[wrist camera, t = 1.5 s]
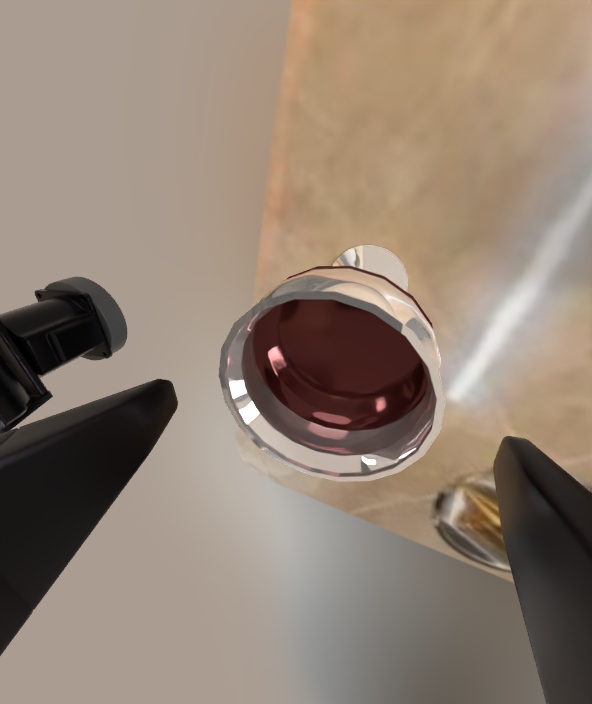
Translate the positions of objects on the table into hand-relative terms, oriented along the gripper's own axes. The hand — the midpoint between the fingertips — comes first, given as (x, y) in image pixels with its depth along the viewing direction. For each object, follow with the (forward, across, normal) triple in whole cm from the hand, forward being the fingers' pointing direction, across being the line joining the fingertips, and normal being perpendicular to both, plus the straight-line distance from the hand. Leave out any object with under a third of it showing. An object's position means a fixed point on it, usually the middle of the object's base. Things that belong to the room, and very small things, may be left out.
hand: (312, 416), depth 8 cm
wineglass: (+13, 0, 0) cm, 13 cm away
